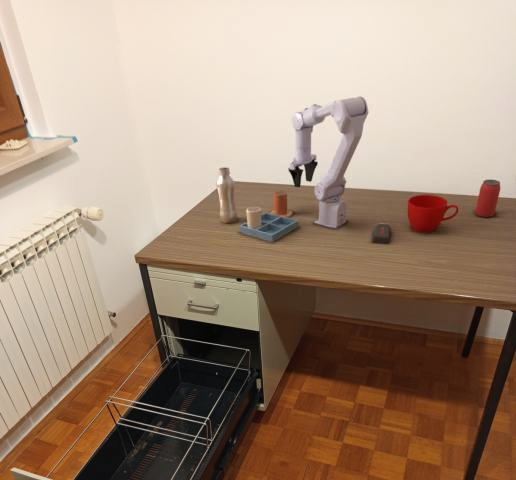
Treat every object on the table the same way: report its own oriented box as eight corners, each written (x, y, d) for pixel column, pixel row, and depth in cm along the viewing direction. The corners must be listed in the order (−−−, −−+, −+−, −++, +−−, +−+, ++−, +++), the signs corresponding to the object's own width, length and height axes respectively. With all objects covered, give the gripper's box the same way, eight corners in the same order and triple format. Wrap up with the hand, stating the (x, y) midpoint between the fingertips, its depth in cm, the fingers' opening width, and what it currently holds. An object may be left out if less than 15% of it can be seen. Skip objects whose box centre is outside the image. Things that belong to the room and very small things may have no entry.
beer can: (491, 211, 183) (498, 178, 176) (496, 217, 178) (504, 184, 171) (472, 211, 184) (479, 179, 177) (477, 218, 179) (484, 185, 172)
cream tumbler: (264, 229, 179) (263, 208, 174) (255, 234, 176) (254, 213, 171) (254, 226, 182) (252, 205, 177) (244, 231, 179) (243, 210, 174)
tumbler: (290, 212, 191) (289, 191, 187) (281, 216, 188) (281, 195, 184) (279, 209, 194) (279, 189, 189) (271, 213, 191) (270, 193, 186)
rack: (298, 228, 180) (298, 220, 178) (272, 243, 171) (272, 235, 169) (265, 219, 188) (265, 212, 186) (239, 233, 179) (238, 225, 177)
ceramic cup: (456, 237, 167) (462, 209, 161) (405, 235, 170) (408, 207, 164) (452, 222, 177) (457, 195, 171) (403, 221, 180) (407, 194, 174)
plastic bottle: (235, 225, 185) (231, 171, 173) (218, 225, 186) (212, 171, 174) (239, 219, 190) (235, 166, 178) (222, 218, 191) (217, 166, 179)
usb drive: (372, 242, 167) (373, 234, 165) (375, 228, 176) (376, 221, 174) (388, 243, 165) (389, 235, 164) (390, 229, 175) (391, 222, 173)
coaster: (297, 212, 192) (297, 211, 192) (283, 220, 186) (283, 219, 186) (278, 208, 197) (278, 207, 196) (264, 215, 191) (264, 214, 191)
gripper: (305, 141, 186) (305, 177, 194) (282, 150, 177) (283, 187, 185) (321, 143, 182) (320, 180, 190) (298, 152, 173) (298, 190, 181)
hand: (303, 184), depth 187 cm, fingers open, 7 cm apart
